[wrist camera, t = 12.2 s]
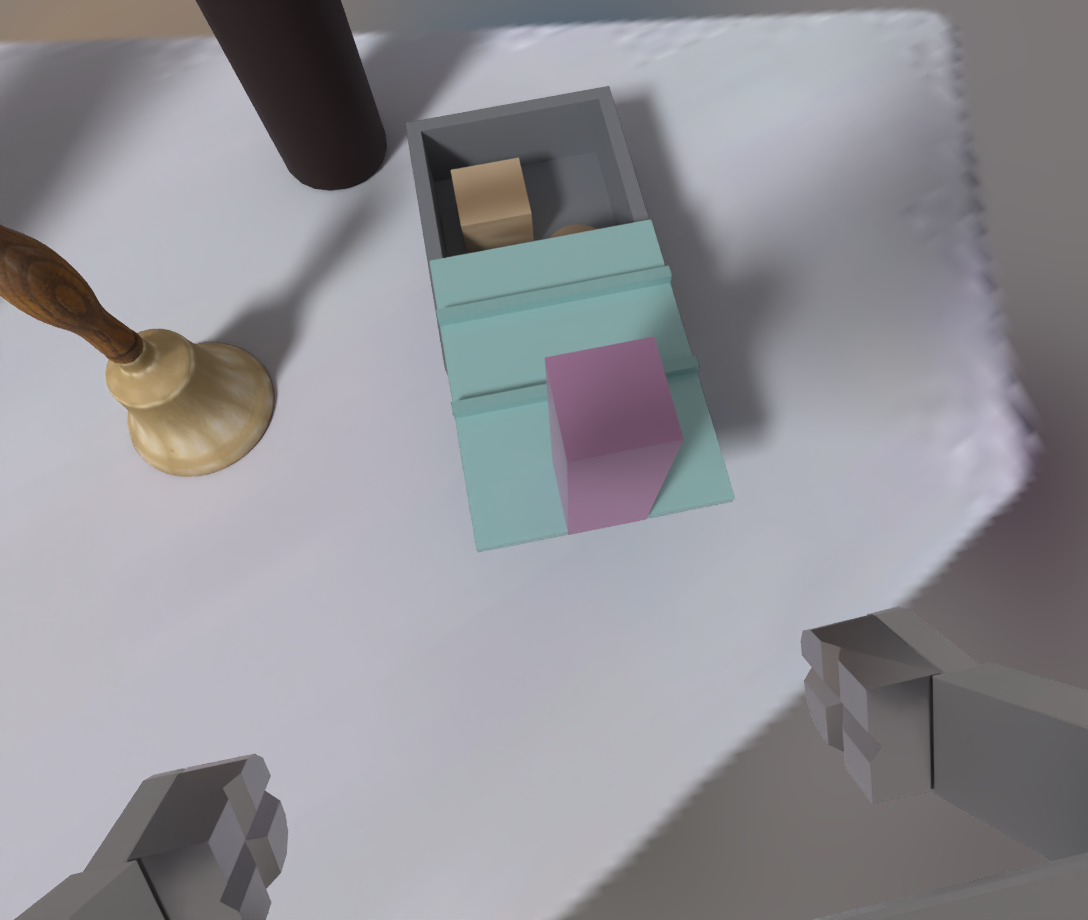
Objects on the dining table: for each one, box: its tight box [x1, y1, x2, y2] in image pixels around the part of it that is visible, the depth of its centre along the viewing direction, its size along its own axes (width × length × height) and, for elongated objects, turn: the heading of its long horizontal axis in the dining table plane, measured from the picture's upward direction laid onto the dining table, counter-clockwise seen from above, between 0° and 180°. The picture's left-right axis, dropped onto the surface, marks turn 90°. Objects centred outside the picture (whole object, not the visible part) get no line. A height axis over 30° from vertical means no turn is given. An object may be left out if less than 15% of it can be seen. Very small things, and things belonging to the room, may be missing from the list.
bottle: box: [196, 0, 386, 191], centre depth 34 cm, size 7×7×20 cm
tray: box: [405, 86, 649, 375], centre depth 38 cm, size 16×12×5 cm
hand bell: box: [0, 225, 274, 477], centre depth 30 cm, size 8×8×16 cm
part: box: [451, 158, 534, 254], centre depth 39 cm, size 4×4×3 cm
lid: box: [430, 219, 735, 552], centre depth 27 cm, size 15×12×11 cm
